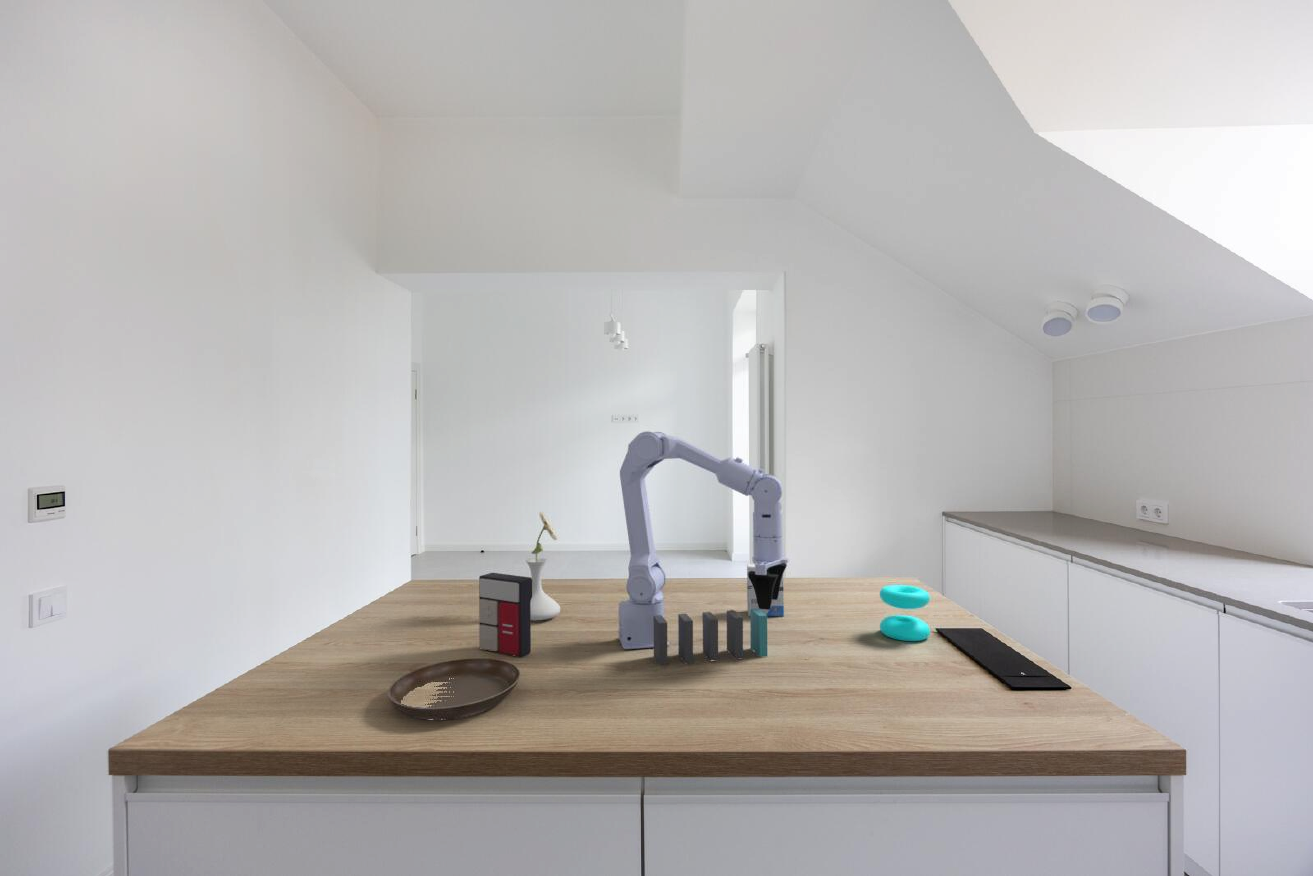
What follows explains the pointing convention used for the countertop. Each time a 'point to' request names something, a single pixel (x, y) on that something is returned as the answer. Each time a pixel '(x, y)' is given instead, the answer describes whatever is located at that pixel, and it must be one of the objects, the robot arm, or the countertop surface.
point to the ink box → (776, 605)
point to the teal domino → (758, 632)
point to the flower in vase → (540, 601)
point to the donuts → (902, 624)
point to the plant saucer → (458, 687)
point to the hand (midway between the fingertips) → (768, 603)
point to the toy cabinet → (505, 613)
